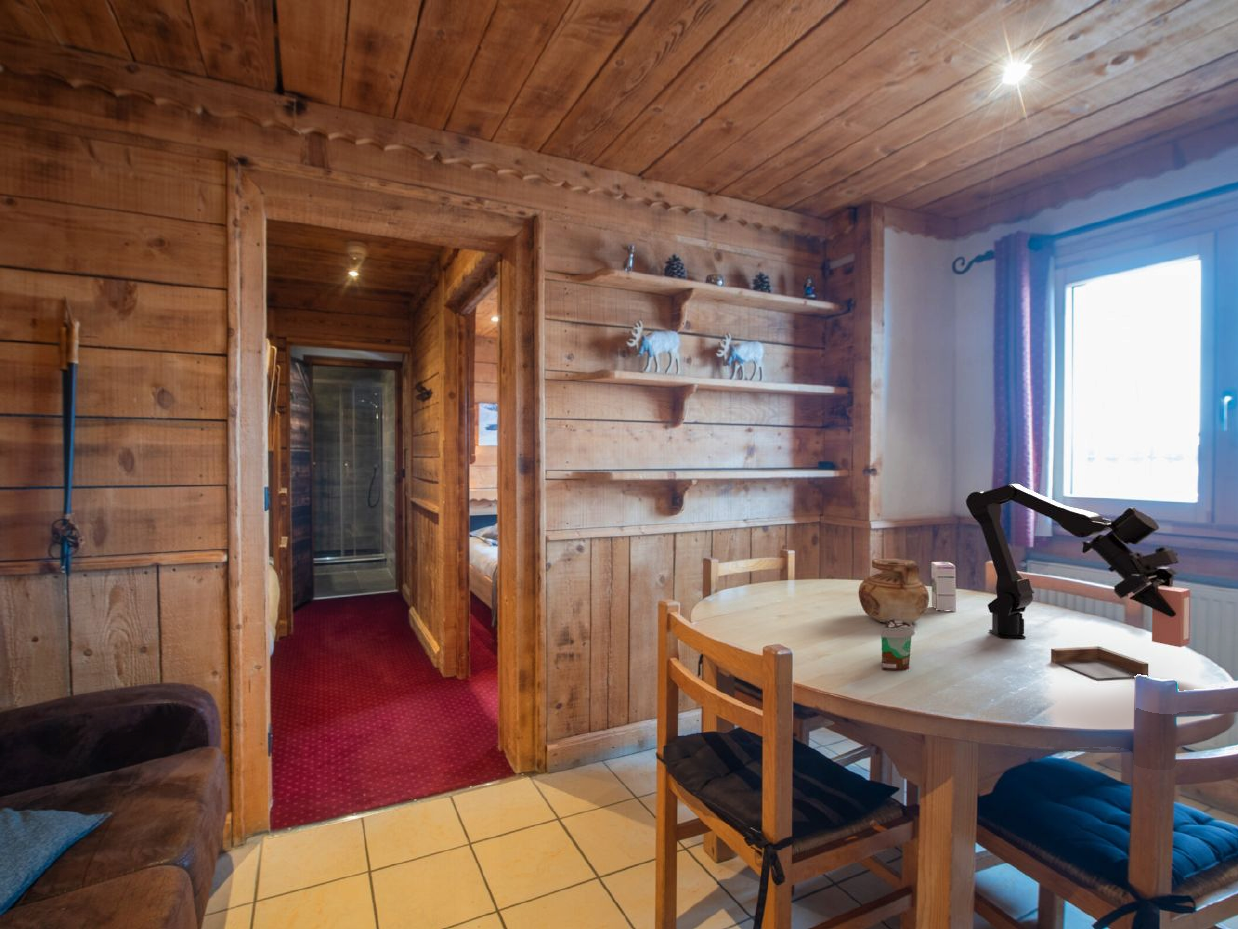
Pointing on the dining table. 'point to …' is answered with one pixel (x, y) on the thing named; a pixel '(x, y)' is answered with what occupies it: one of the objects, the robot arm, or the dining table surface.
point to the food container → (896, 644)
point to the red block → (1172, 618)
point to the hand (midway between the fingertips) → (1178, 614)
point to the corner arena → (1098, 663)
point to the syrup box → (943, 586)
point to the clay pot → (894, 591)
